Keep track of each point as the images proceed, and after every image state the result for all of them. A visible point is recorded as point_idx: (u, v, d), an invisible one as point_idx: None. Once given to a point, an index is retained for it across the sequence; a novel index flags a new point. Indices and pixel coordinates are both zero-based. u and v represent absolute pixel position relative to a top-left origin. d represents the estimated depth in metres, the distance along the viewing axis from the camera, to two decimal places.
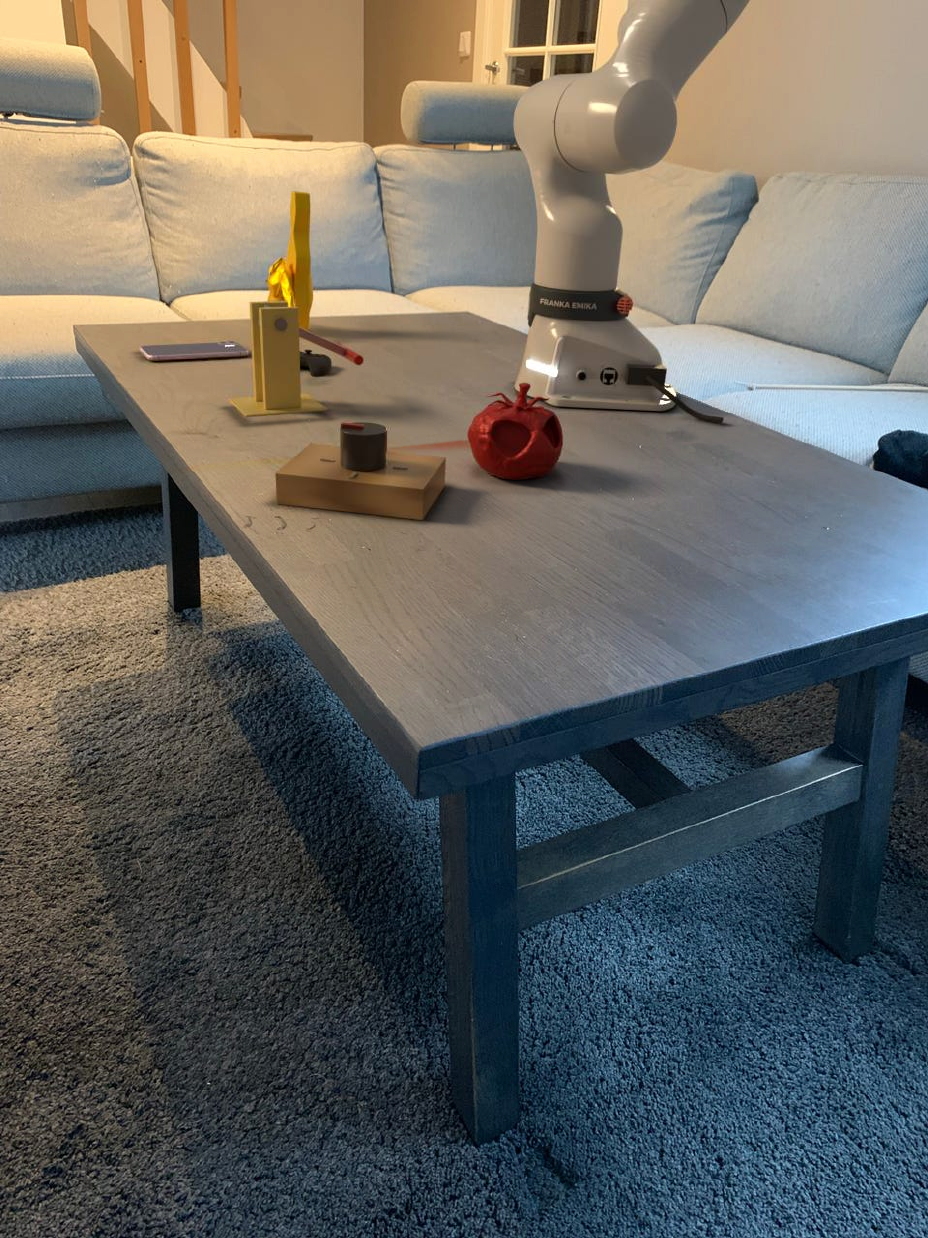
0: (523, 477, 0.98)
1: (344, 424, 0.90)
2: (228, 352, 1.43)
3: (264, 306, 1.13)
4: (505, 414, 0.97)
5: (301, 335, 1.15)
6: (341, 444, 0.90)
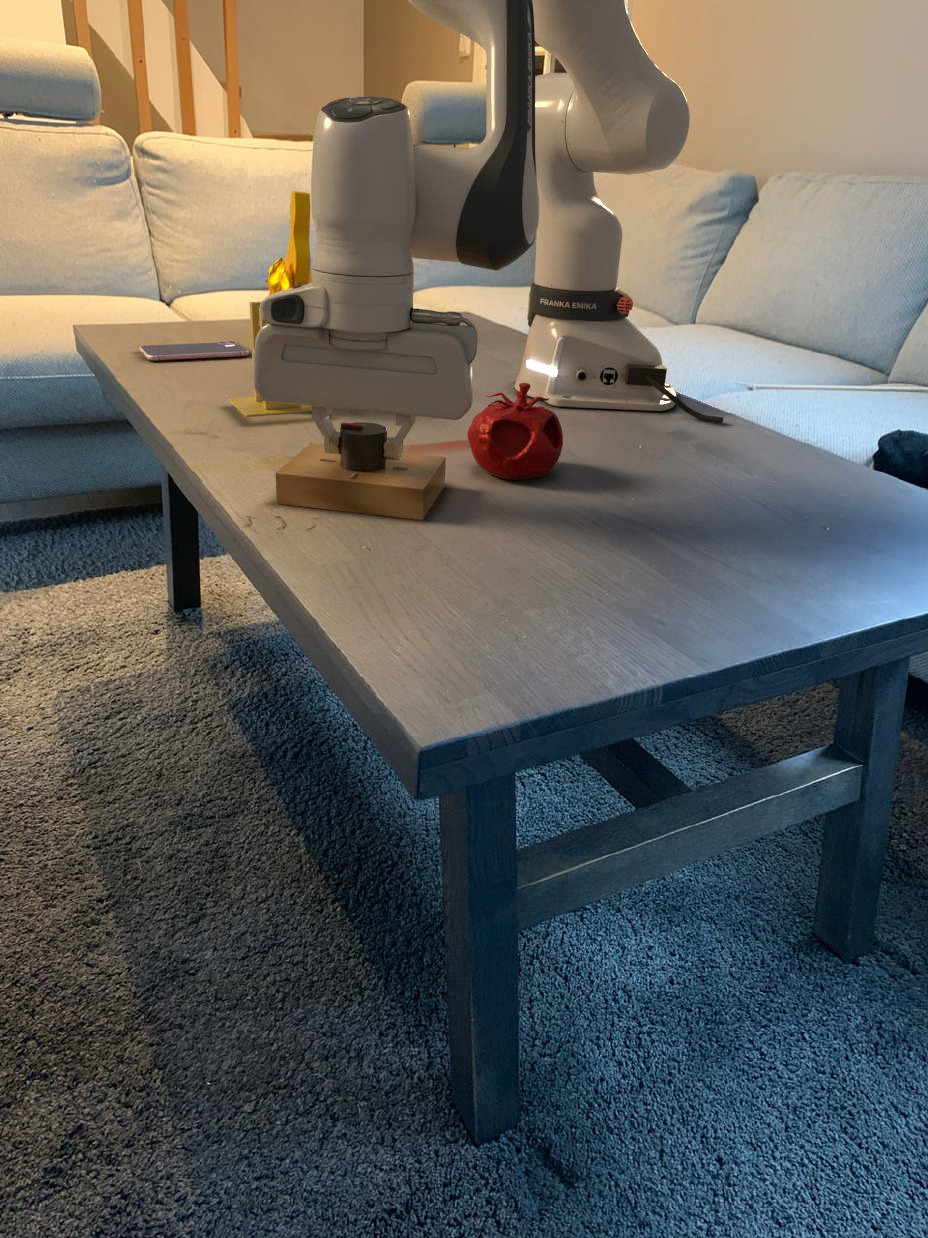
0: (523, 477, 0.98)
1: (344, 424, 0.90)
2: (228, 352, 1.43)
3: None
4: (505, 414, 0.97)
5: None
6: (341, 444, 0.90)
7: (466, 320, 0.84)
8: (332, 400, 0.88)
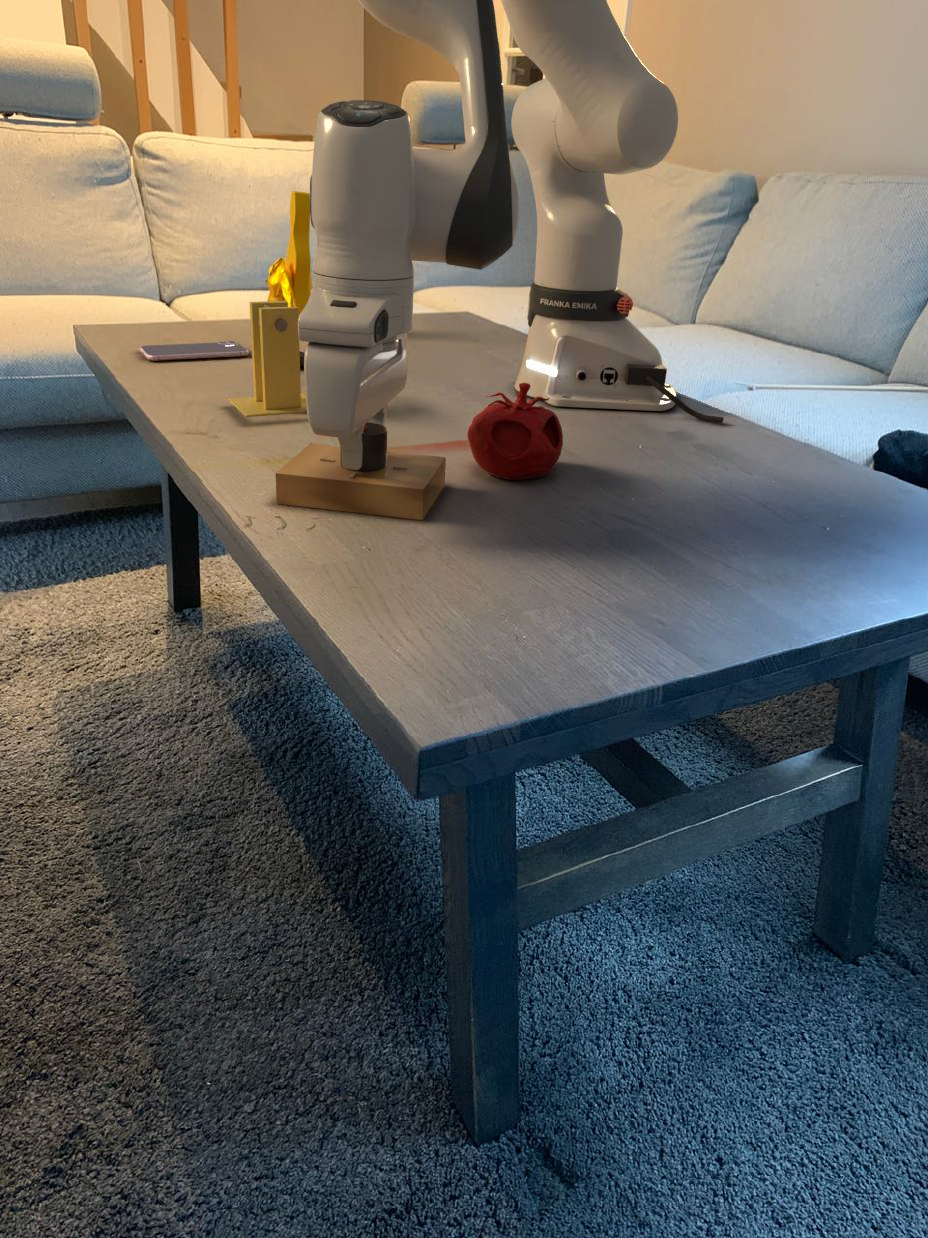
0: (523, 477, 0.98)
1: None
2: (228, 352, 1.43)
3: (264, 306, 1.13)
4: (505, 414, 0.97)
5: None
6: (372, 449, 0.89)
7: None
8: (374, 409, 0.87)
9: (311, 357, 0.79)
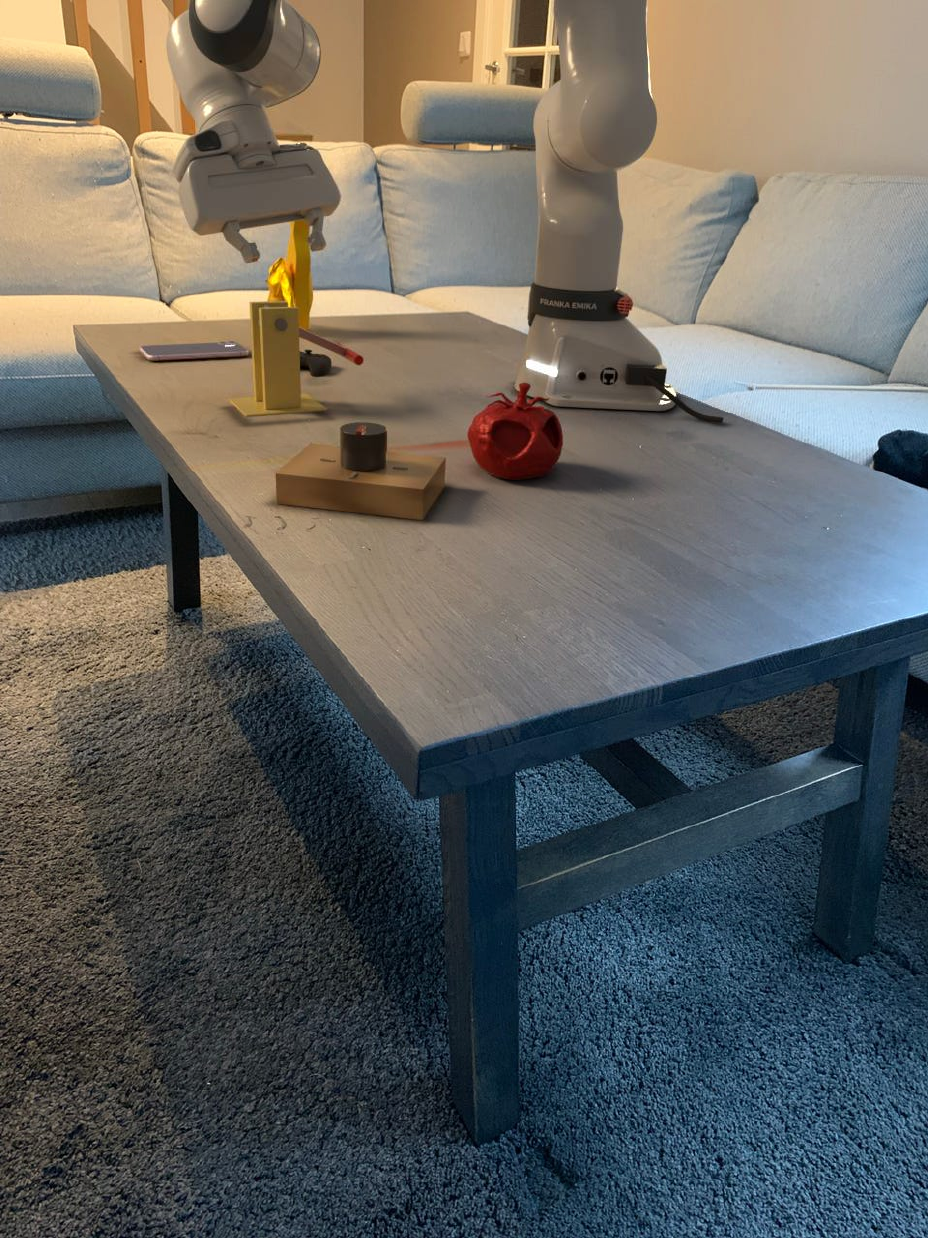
0: (523, 477, 0.98)
1: (361, 431, 0.89)
2: (228, 352, 1.43)
3: (264, 306, 1.13)
4: (505, 414, 0.97)
5: (301, 335, 1.15)
6: (372, 449, 0.89)
7: (309, 146, 1.23)
8: (257, 207, 1.16)
9: (179, 186, 1.15)
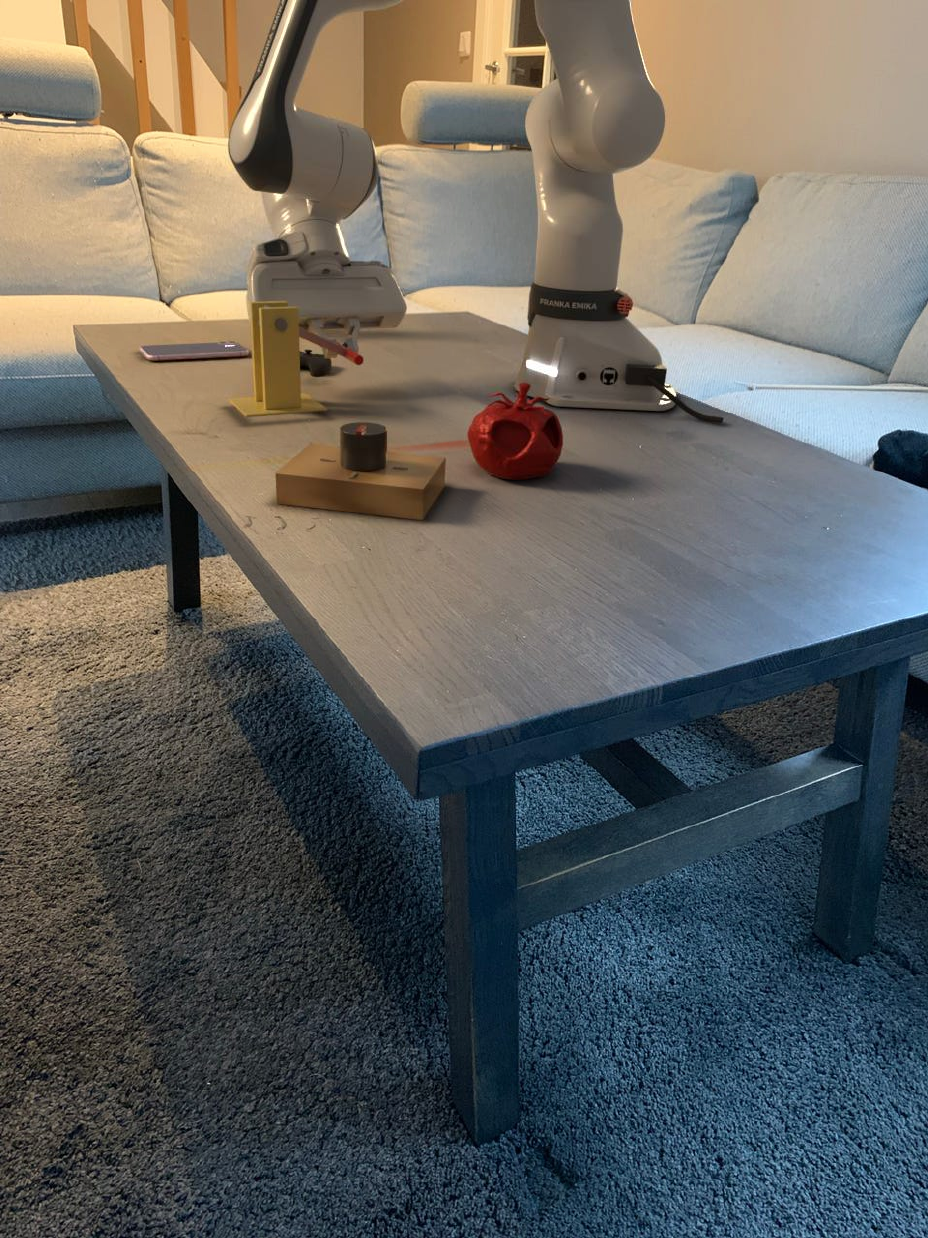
0: (523, 477, 0.98)
1: (361, 431, 0.89)
2: (228, 352, 1.43)
3: (264, 306, 1.13)
4: (505, 414, 0.97)
5: (301, 335, 1.15)
6: (372, 449, 0.89)
7: None
8: (316, 309, 1.19)
9: None
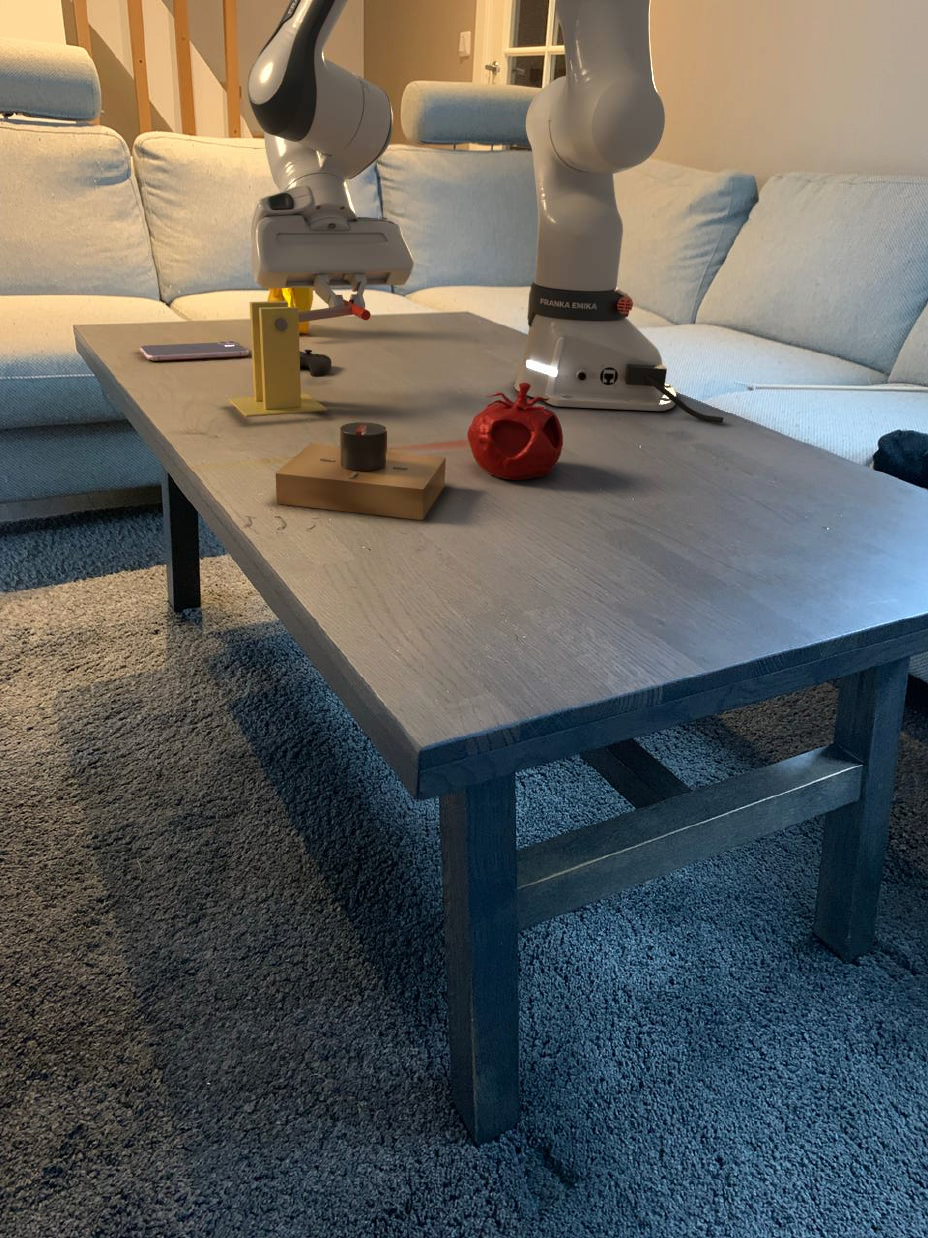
0: (523, 477, 0.98)
1: (361, 431, 0.89)
2: (228, 352, 1.43)
3: None
4: (505, 414, 0.97)
5: (304, 319, 1.14)
6: (372, 449, 0.89)
7: (390, 221, 1.25)
8: (321, 264, 1.17)
9: None
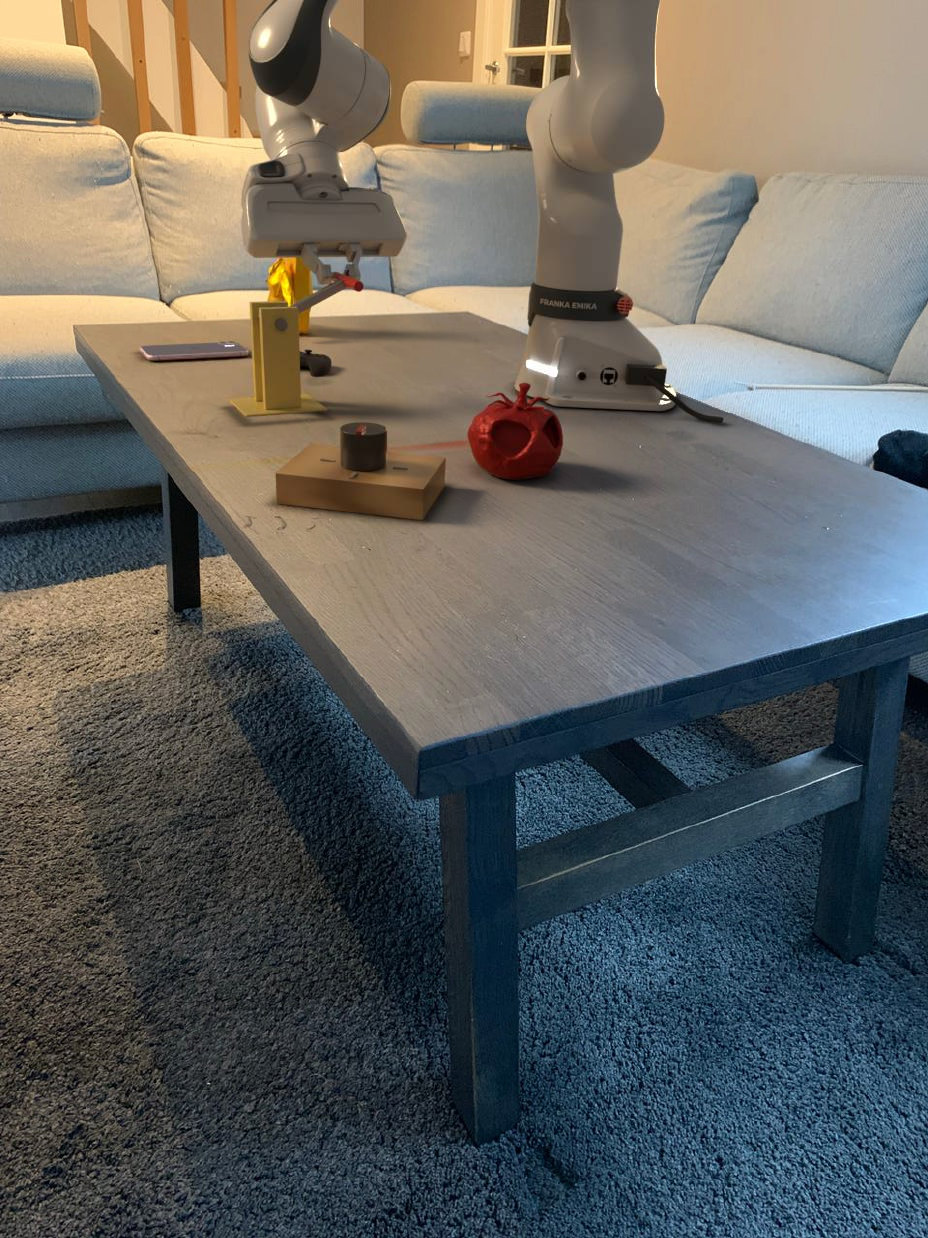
0: (523, 477, 0.98)
1: (361, 431, 0.89)
2: (228, 352, 1.43)
3: (258, 317, 1.13)
4: (505, 414, 0.97)
5: (302, 309, 1.13)
6: (372, 449, 0.89)
7: (383, 192, 1.23)
8: (313, 233, 1.15)
9: None
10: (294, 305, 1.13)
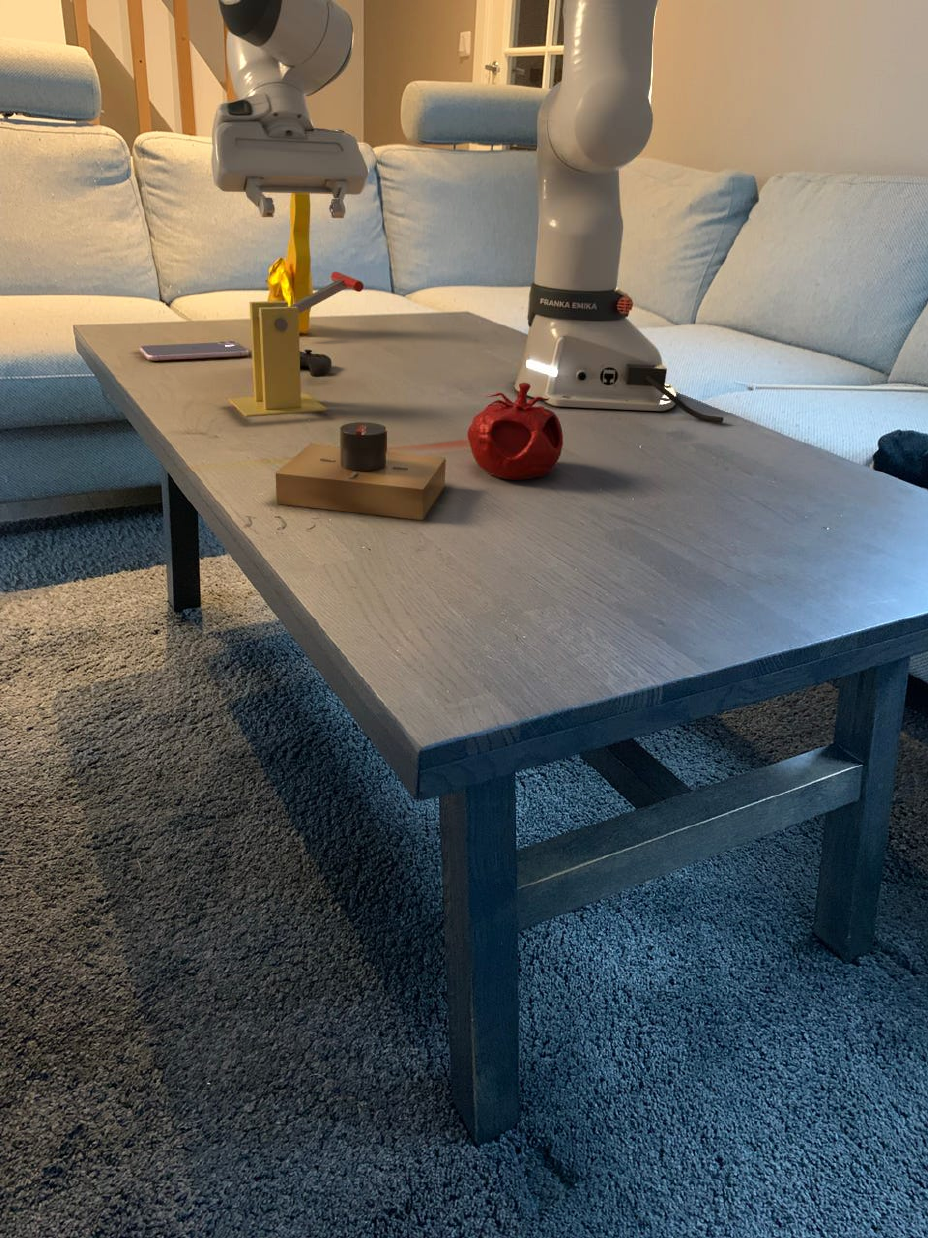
0: (523, 477, 0.98)
1: (361, 431, 0.89)
2: (228, 352, 1.43)
3: (258, 317, 1.13)
4: (505, 414, 0.97)
5: (302, 309, 1.13)
6: (372, 449, 0.89)
7: None
8: (278, 168, 1.22)
9: None
10: (294, 305, 1.13)
